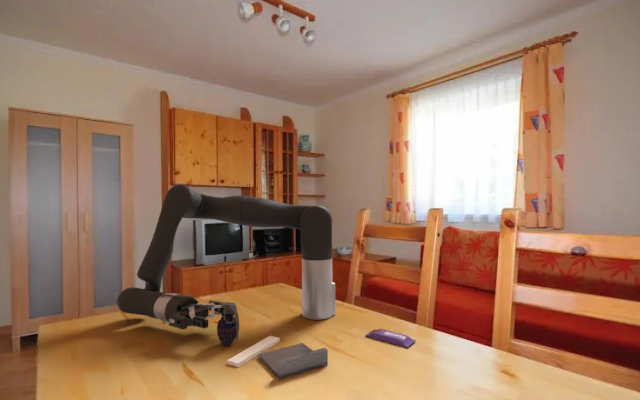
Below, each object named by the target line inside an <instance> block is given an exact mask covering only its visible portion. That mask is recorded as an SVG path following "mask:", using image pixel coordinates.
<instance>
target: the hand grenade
mask: <svg viewBox="0 0 640 400" xmlns="http://www.w3.org/2000/svg"><path fill="white" fill-rule="evenodd" d="M222 302H223V303H221V304H220V305H221V306H224V312H223V315H222V316H221V317H220V319H219V320H218V321H217V326H216V334H217V337H218V339H219V342H220V343H221V344H222V345H223V346H224V347H228V346H232V345H233V343H234V341H235V342H236V341H238V340H239V332H240V317H239V313H238V307H237V305H236V303H235V302H230V301H229V302H227V301H222ZM233 314H234V316H233Z"/></svg>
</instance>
